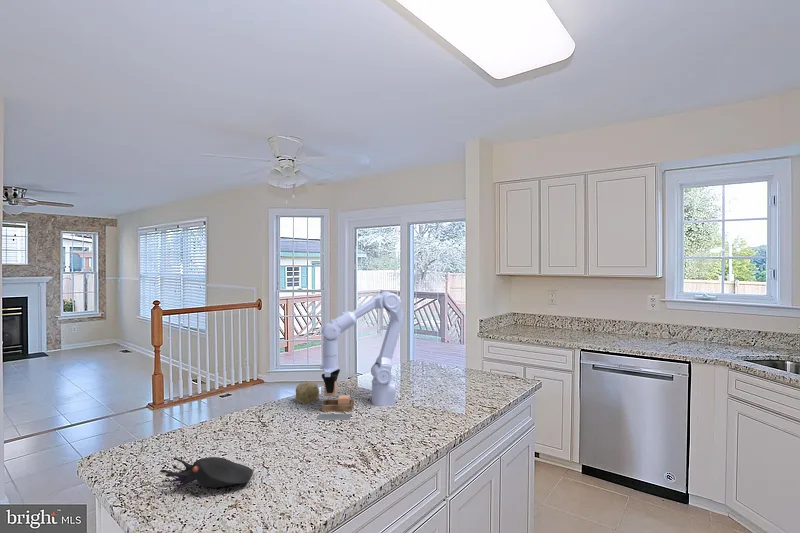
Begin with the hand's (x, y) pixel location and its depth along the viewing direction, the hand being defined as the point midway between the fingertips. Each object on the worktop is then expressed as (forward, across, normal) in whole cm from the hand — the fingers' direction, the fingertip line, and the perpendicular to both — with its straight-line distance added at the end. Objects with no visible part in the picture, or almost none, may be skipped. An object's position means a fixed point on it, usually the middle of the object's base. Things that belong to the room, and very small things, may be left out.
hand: (331, 390), depth 160 cm
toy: (+8, +52, -22) cm, 57 cm away
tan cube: (+1, 0, 0) cm, 1 cm away
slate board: (+7, +9, +3) cm, 12 cm away
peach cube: (+7, 0, +5) cm, 8 cm away
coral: (+8, -10, -12) cm, 17 cm away
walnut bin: (+7, 0, +2) cm, 8 cm away
